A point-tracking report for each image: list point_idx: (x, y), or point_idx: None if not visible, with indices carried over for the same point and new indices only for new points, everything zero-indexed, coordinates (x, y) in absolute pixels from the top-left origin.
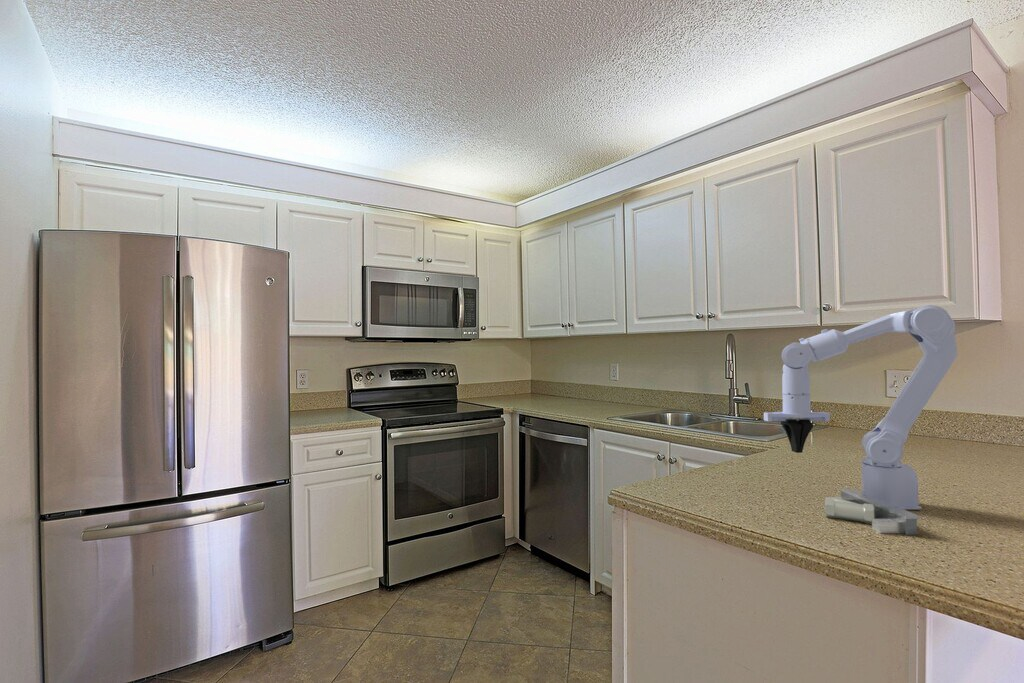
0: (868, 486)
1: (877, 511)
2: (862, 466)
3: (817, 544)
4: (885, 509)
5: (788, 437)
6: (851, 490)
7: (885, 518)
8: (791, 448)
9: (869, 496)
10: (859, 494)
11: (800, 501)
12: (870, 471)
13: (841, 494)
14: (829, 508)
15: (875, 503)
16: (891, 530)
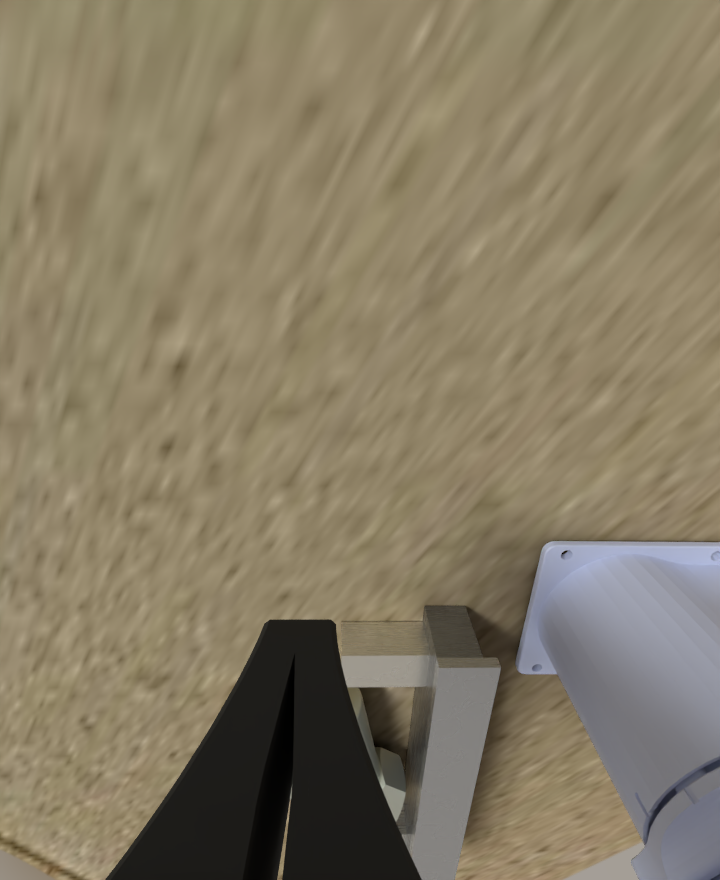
0: (573, 692)
1: (412, 791)
2: (649, 762)
3: (113, 866)
4: (412, 837)
5: (177, 793)
6: (466, 691)
7: (408, 800)
8: (257, 643)
9: (468, 759)
10: (450, 738)
11: (267, 561)
12: (619, 793)
13: (433, 645)
14: None
15: (417, 816)
16: None
